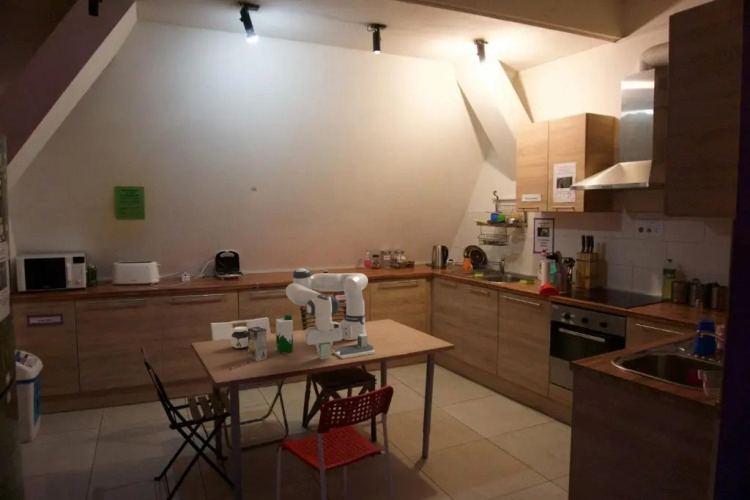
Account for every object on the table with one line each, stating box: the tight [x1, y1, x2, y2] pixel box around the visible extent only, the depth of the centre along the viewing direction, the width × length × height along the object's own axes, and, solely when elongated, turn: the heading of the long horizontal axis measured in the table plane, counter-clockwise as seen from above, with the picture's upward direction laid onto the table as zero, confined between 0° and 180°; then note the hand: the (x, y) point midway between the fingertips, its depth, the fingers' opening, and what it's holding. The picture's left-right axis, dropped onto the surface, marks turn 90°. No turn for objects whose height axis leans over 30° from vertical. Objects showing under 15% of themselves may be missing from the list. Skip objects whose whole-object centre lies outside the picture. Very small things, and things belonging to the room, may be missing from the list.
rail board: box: [332, 334, 376, 360], centre depth 280 cm, size 20×12×10 cm, turn 120°
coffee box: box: [247, 326, 268, 362], centre depth 271 cm, size 9×6×16 cm
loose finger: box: [318, 342, 330, 361], centre depth 272 cm, size 4×4×8 cm
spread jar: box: [230, 326, 248, 350], centre depth 290 cm, size 12×11×12 cm
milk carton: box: [275, 314, 294, 354], centre depth 283 cm, size 9×9×20 cm
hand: (323, 350), depth 272 cm, fingers closed on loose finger, 4 cm apart
